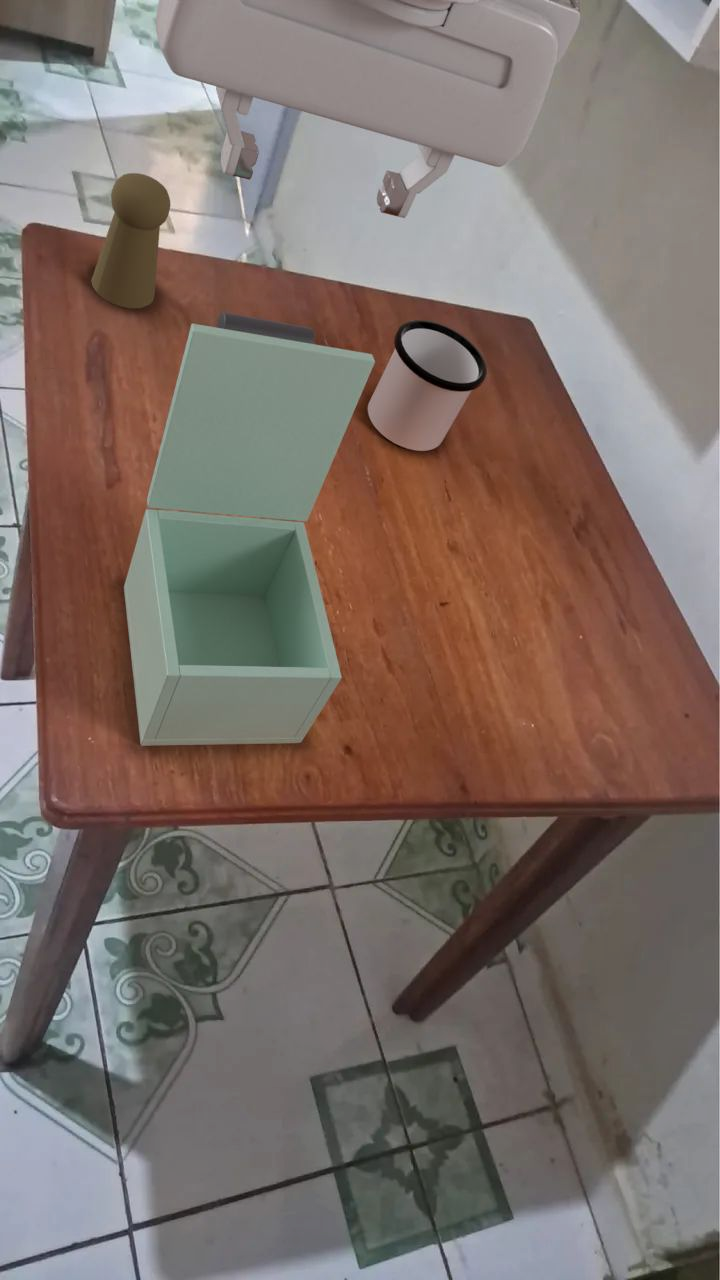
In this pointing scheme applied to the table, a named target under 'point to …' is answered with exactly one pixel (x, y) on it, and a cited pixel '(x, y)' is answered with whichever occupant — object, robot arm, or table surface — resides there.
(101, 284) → the brown pawn
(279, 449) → the lid
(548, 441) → the table surface
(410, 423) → the mug
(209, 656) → the light green open box
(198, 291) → the table surface
